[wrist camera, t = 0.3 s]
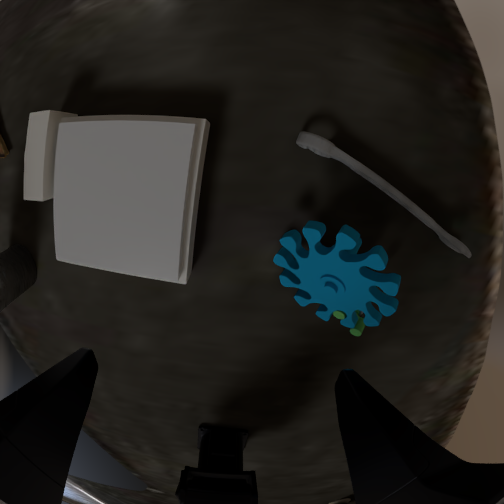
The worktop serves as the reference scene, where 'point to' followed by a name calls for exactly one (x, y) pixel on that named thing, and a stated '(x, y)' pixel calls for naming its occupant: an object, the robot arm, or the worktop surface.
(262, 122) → the worktop surface
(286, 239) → the gear
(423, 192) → the worktop surface
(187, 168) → the kitchen scale
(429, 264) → the worktop surface
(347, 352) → the worktop surface
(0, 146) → the shard
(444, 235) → the combination wrench
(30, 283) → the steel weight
